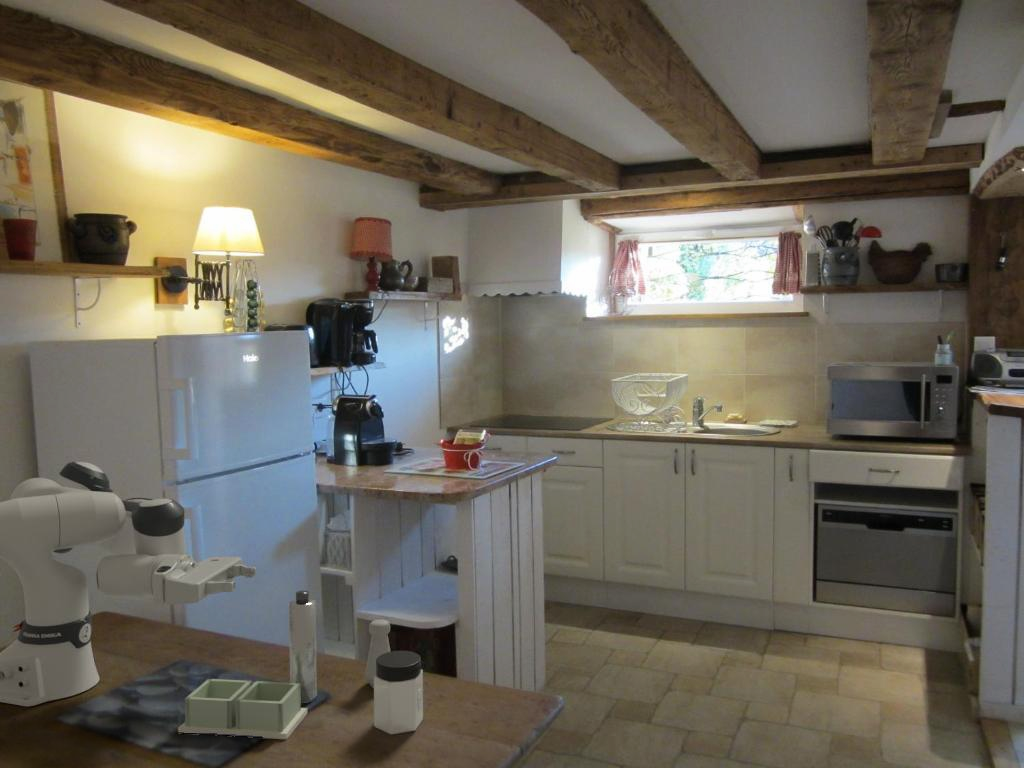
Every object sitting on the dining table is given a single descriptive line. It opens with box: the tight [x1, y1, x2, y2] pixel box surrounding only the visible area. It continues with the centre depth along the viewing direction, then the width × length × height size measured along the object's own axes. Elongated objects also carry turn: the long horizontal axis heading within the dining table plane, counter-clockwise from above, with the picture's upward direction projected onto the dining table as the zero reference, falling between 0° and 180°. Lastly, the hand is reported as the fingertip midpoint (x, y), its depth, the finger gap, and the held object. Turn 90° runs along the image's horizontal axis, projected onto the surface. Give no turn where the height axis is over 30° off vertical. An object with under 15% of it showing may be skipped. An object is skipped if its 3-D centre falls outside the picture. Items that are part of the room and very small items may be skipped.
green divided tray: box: [177, 678, 308, 740], centre depth 146 cm, size 20×10×6 cm, turn 84°
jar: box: [373, 650, 424, 735], centre depth 146 cm, size 9×8×12 cm
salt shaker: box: [364, 619, 391, 689], centre depth 163 cm, size 6×6×13 cm
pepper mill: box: [288, 590, 318, 702], centre depth 156 cm, size 5×5×21 cm
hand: (244, 579), depth 157 cm, fingers open, 8 cm apart
